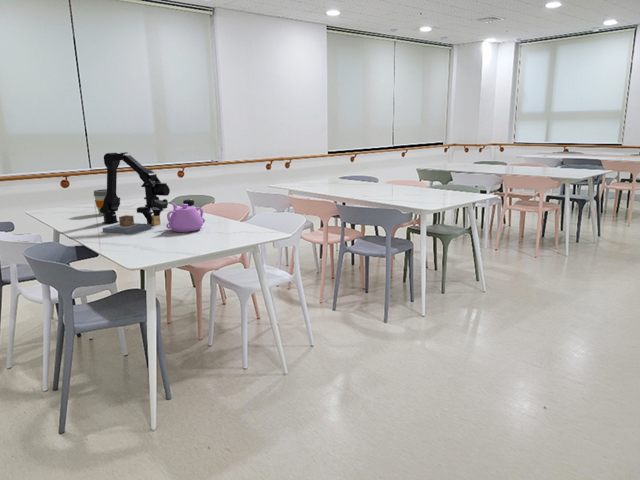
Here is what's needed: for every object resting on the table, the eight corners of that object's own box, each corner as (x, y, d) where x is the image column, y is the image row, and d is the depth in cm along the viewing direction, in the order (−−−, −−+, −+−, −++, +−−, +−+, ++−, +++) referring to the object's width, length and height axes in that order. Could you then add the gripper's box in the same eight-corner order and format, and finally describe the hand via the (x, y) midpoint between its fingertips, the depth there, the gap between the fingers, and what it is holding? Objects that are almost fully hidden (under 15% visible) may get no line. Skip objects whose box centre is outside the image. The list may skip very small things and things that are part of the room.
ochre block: (147, 225, 272) (146, 216, 271) (153, 223, 276) (152, 215, 275) (154, 226, 270) (153, 217, 269) (160, 224, 275) (159, 215, 273)
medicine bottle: (193, 221, 281) (191, 200, 279) (181, 221, 283) (179, 200, 280) (198, 219, 288) (196, 198, 286) (187, 218, 290) (185, 198, 287)
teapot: (192, 223, 275) (190, 199, 272) (213, 229, 260) (211, 203, 257) (155, 230, 260) (152, 204, 257) (175, 236, 245) (173, 208, 242)
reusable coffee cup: (110, 211, 319) (107, 188, 315) (121, 213, 312) (119, 189, 308) (92, 214, 309) (89, 190, 305) (103, 216, 302) (100, 192, 298)
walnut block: (119, 226, 259) (118, 216, 258) (126, 224, 264) (125, 215, 263) (127, 226, 258) (126, 217, 257) (134, 225, 262) (133, 215, 261)
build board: (102, 231, 257) (102, 227, 257) (124, 225, 272) (124, 221, 271) (130, 234, 251) (129, 229, 250) (151, 227, 265) (150, 223, 265)
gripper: (151, 198, 258) (154, 227, 262) (174, 193, 275) (176, 220, 279) (134, 197, 262) (137, 226, 266) (157, 192, 279) (160, 219, 282)
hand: (153, 223), depth 273 cm, fingers closed on ochre block, 5 cm apart
